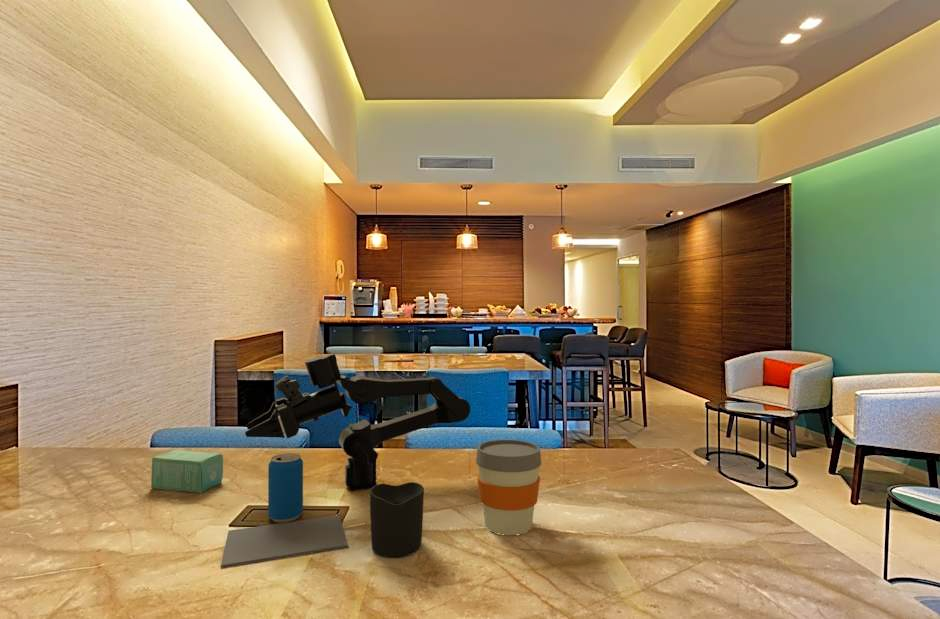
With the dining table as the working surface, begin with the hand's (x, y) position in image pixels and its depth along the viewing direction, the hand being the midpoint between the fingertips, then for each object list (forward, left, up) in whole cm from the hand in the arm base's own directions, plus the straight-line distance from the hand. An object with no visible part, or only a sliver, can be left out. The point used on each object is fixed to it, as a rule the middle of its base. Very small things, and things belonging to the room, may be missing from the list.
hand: (246, 430), depth 108 cm
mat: (-8, +22, -15) cm, 28 cm away
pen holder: (-26, +32, -16) cm, 44 cm away
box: (+13, -15, -16) cm, 25 cm away
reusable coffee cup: (-48, +31, -16) cm, 59 cm away
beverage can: (-8, +12, -15) cm, 21 cm away
